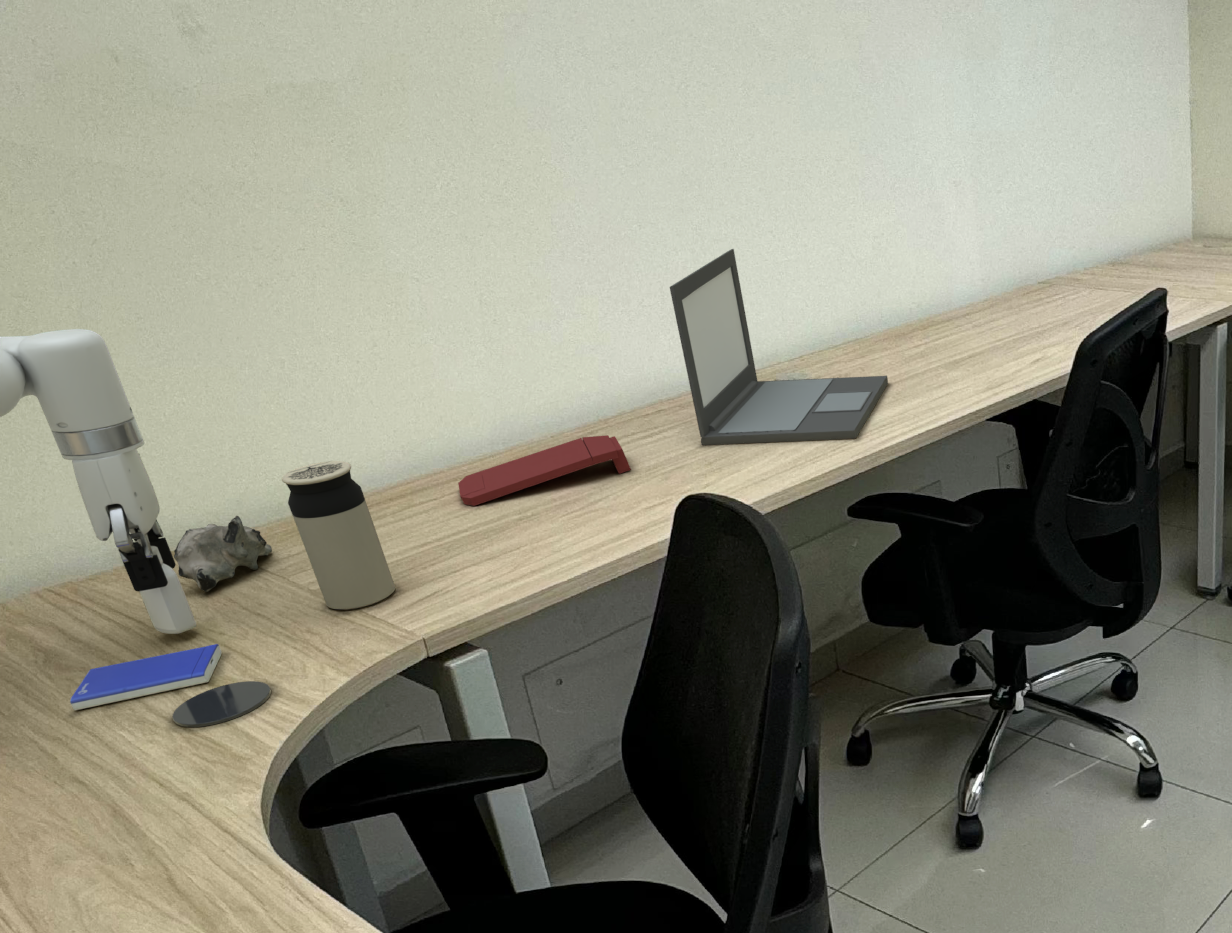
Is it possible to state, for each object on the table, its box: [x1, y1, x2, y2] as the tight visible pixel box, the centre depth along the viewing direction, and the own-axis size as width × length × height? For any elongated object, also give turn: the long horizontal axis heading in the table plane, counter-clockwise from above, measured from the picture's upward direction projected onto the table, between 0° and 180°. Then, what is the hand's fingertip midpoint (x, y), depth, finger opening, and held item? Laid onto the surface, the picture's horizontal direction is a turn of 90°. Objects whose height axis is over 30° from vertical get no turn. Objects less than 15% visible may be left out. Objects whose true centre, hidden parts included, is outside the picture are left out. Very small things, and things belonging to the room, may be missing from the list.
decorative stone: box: [173, 515, 273, 593], centre depth 159 cm, size 16×9×10 cm, turn 23°
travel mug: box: [281, 460, 396, 611], centre depth 148 cm, size 8×8×18 cm
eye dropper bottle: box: [137, 539, 197, 635], centre depth 141 cm, size 4×6×12 cm
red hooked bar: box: [457, 434, 632, 506], centre depth 190 cm, size 12×5×25 cm
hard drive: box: [69, 643, 223, 711], centre depth 133 cm, size 2×8×12 cm
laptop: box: [669, 248, 889, 446], centre depth 213 cm, size 35×28×28 cm
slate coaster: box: [172, 680, 272, 728], centre depth 128 cm, size 9×9×1 cm
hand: (155, 577), depth 140 cm, fingers closed on eye dropper bottle, 5 cm apart
